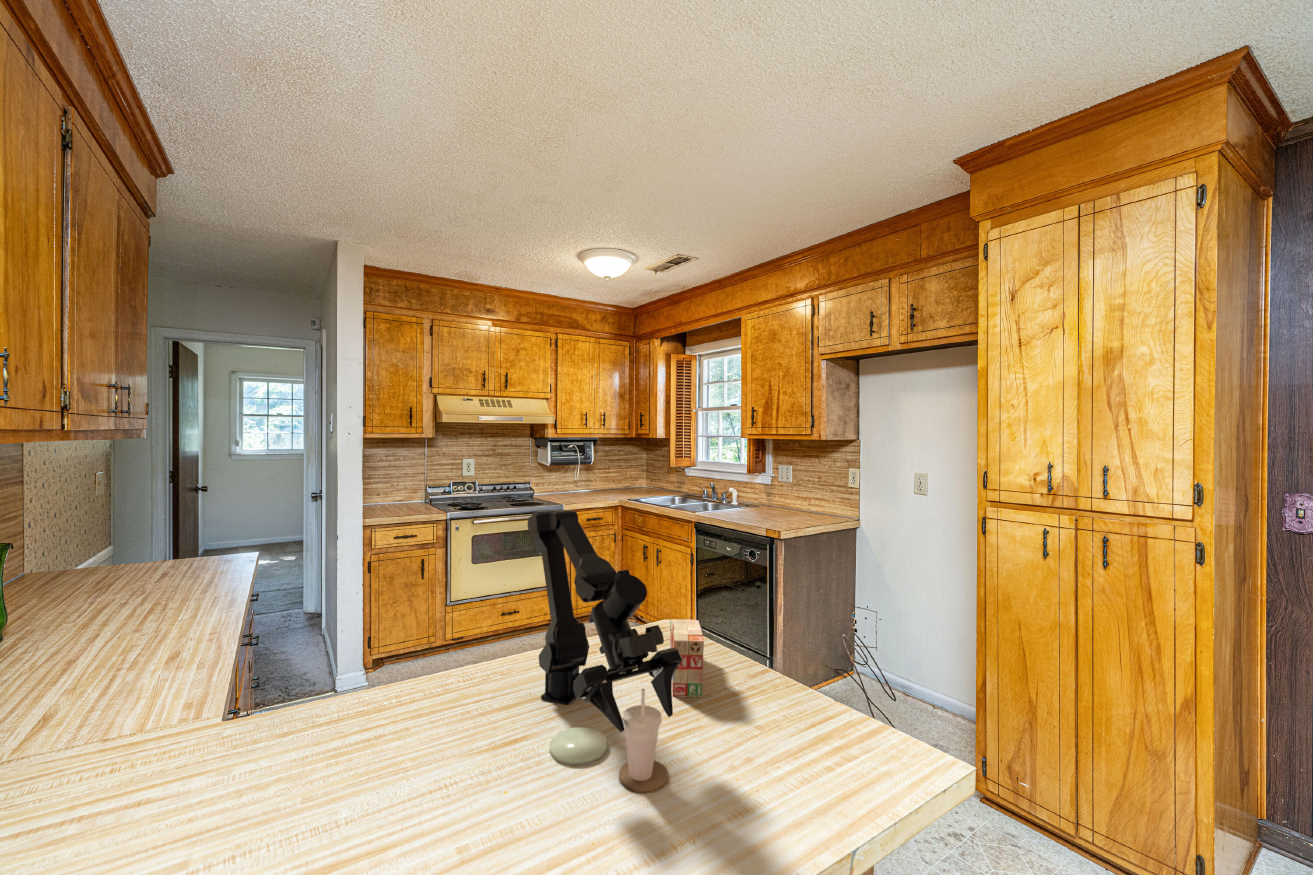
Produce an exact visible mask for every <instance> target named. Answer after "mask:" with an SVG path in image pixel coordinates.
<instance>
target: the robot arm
mask: <svg viewBox="0 0 1313 875" xmlns="http://www.w3.org/2000/svg"><path fill="white" fill-rule="evenodd" d="M527 529H528V532H529V533H530V537H531V542H532V544H533V545H534V546H535V547H536V548H537V550H538V551H539V552H540V553H541V559H542V564H543V565H542V566H543V573H544V580H545V581H544V582H545V587H546V588H545V589H546V593H547V594H546V595H547V601H548V607H549V608H548V610H549V615H550V623H549V626H548V627H547V628H548V629H547V630H546V634H545V637H544V638H545V645H544V647H543V648H542V650H540V653H539V655H538V664H539V668H541V669H542V670H543V671H544V672H545V674H544V675H545V680H544V682H545V683H544V693H543V694H541V695H540V699H541V700H544V701H551V702H555V703H560V704H564V705H570V703H572V702H573V701H574V700H579V699H580V700H581V699H583V701H584V702H585V703H591V704H592V705H593V706H594V707H595V708H596V709H598V711H600V712H601V713H602V714H603V715H604V716H605V718H607V720H609V722H610V723H611V724H612V725H613V727H615V728H616V730H617V731H619V733H624V732H625V725H624V724H623V720H622V718H623V716H622V715H621V712H620V710H619V706H618V705H617V701H616V698H615V696H614V689H613V682H617V681H621V680H625V679H628V678H629V679H630V678H633V677H637V676H640V675H645V674H648V675H649V676H650V677H652V678H653V679H652V680H651V681H650V684H651V686H652V687H653V690H654V691H655V693H656V696H657V698H658V700H659V703H660V705H661V706H662V709H663V711H664V713H665V714H666V716H667V717H668V718H670V717H673V716H674V715H673V714H674V713H673V712H674V711H673V694H672V676H673V673H674V672H675V671H676V670H677V669H678V665H679V664H680V663H681V662H682V661H683V660H682V657H681V655H680V652H679V651H678V650H677V649H675V648H665V649H661V650H658V647H657V646H659V645H663V644H664V642H665V639H664V634H663V632H662V629H661V628H660V626H659V624H656V625H652V626H647V627H645V631H644V632H645V633H641V634H639V633H638V630H637V628H632V627H631V626H630V622H629V619H631V618H632V617H633V616H634V614H635V613H636V612H637V610H638V609H639V608H640V607H641V605H642V603H644V601H645V600H646V598H647V596H648V590H647V585H646V584H645V583H644V582H642V581H643V580H641V579H640V578H638V577H637V576H636V575H632V574H630V570H629V569H622V570H617V571H616V569H615V568H614V567H613V565H612V564H611V563H610V561H608V560H607V559H605V558H602V557H601V556H599V555H598V553H597V552H596V550H595V549H594V547H593V545H592V543H591V540H590V539H589V538H588V535H587V534H586V532H585V530H584V528H583V527H582V525H581V523H580V522H579V515H578V513H577V511H576V510H573V509H566V510H561V509H553V510H552V509H551V510H536V511H533V512H532V515H531V516H529V517H528V519H527ZM565 552H566V554H567V556H568V558H569V560H570V561H571V564H572V566H573V568H574V571H575V576H574V581H573V583H574V586H575V591H576V594H577V597H579V599H580V600H581V601H582V603H593V602H598V603H597V604H596V605H595V606H592V607H591V611H590V614H589V616H588V622H589V623H590V624H592V623H594V626H595V629H596V632H597V634H598V637H599V641H600V644H601V646H600V647H599V653H600V655H602V654H603V655H604V657H605V658H606V661H607V665H608V667H609V668H607V667H606V666H605V665H604V664H599V665H594V666H590V667H586V668H583V669H582V670H581V672H580V667H585V666H586V664H587V659H588V655H589V651H590V650H589V649H590V644H589V640H588V638H587V632H586V626H585V624H584V622H580V621H579V620H578V619H577V618H576V617H575V614H574V608H573V601H572V594H571V588H570V581H569V575H568V574H569V573H568V569H567V562H566V555H565ZM649 653H652V654H653V653H655V654H654V655H653V656H652V657H651V658H650V659H648V660H644V659H647V658H648V657H649V655H650V654H649Z"/></svg>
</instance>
